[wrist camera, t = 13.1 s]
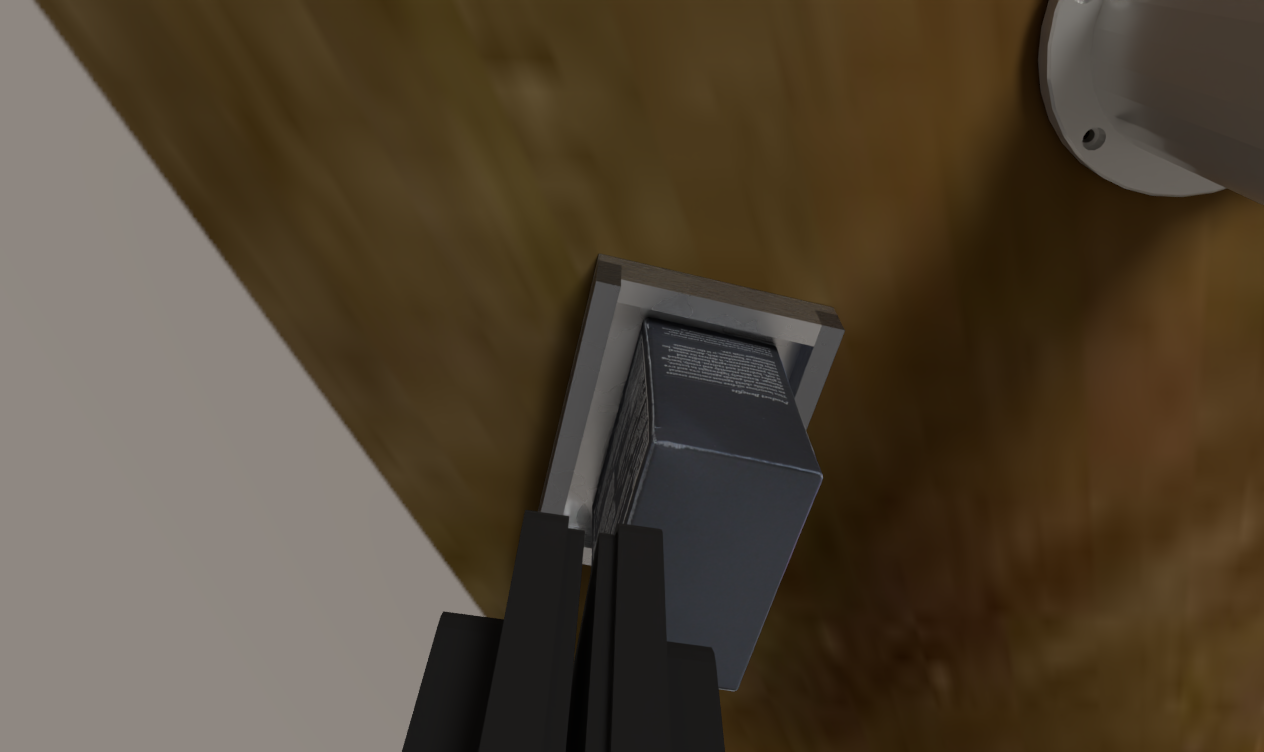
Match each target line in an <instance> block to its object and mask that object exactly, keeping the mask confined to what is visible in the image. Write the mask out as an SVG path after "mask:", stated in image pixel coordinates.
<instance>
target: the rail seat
mask: <svg viewBox="0 0 1264 752" xmlns="http://www.w3.org/2000/svg"><path fill="white" fill-rule="evenodd" d="M647 317H651V318H657V319H661V320H666V321H670V322H675V323H679V324H683V325H688V326H692V327H697V328H701V329H706V330H711V331H715V332H719V333H724V334H728V335H732V336H736V337H741V338H746V339H750V340H754V341H758V342H762V343H766V344H770V345H774V346H776V347H777V350H778V353H779V356H780V359H781V361H782V364H783V367H784V370H785V373H786V375H787V379H788V381H789V384H790V387H791V390H792V393H793V396H794V398H795V401H796V404H797V407H798V410H799V412H800V415H801V418H802V421H803V424H804V426H805V429H806V430H807V427H808V424H809V422H810V419H811V417H812V414H813V411H814V409H815V406H816V404H817V401H818V399H819V396H820V393H821V391H822V388H823V386H824V383H825V380H826V378H827V375H828V373H829V370H830V368H831V365H832V362H833V360H834V357H835V355H836V352H837V349H838V347H839V344H840V342H841V339H842V337H843V334H844V331H845V330H844V328H843V326H842V324H841V322H840V320H839V318H838V316H837V314H836V312H835V310H834V308H833V307H828V306H824V305H820V304H815V303H811V302H807V301H802V300H798V299H794V298H789V297H785V296H781V295H776V294H772V293H768V292H763V291H759V290H755V289H750V288H746V287H742V286H737V285H733V284H729V283H724V282H720V281H716V280H711V279H707V278H703V277H698V276H694V275H690V274H685V273H681V272H677V271H672V270H668V269H664V268H659V267H655V266H651V265H646V264H642V263H638V262H633V261H629V260H625V259H620V258H616V257H612V256H607V255H603V254H599V256H598V260H597V264H596V268H595V272H594V277H593V281H592V285H591V289H590V293H589V298H588V302H587V306H586V310H585V315H584V319H583V323H582V327H581V331H580V336H579V340H578V344H577V348H576V352H575V357H574V361H573V365H572V369H571V373H570V378H569V382H568V386H567V390H566V395H565V399H564V403H563V407H562V411H561V416H560V420H559V424H558V428H557V432H556V437H555V441H554V445H553V449H552V453H551V458H550V462H549V466H548V470H547V474H546V479H545V483H544V487H543V491H542V496H541V500H540V504H539V508H538V512H544V513H551V514H558V515H565V516H569V525H568V528H571V529H578V530H585V540H584V551H583V562H582V564H585V565H591V562H592V561H591V559H592V505H593V502H594V499H595V495H596V491H597V487H598V483H599V479H600V474H601V471H602V467H603V463H604V460H605V456H606V453H607V448H608V445H609V439H610V436H611V434H612V431H613V427H614V423H615V420H616V417H617V413H618V409H619V405H620V402H621V398H622V394H623V390H624V385H625V383H626V380H627V377H628V373H629V369H630V365H631V362H632V358H633V355H634V351H635V347H636V344H637V340H638V337H639V334H640V330H641V326H642V322H643V320H644V319H645V318H647Z"/></svg>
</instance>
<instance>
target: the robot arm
mask: <svg viewBox="0 0 1264 752" xmlns="http://www.w3.org/2000/svg"><path fill="white" fill-rule="evenodd" d="M1038 67H1039V80H1040V91H1041V95H1042V98H1043V102H1044V105H1045V108H1046V112H1047V115H1048V118H1049V121H1050V122H1051V124H1052V126H1053V128H1054V129H1055V131H1056V133H1057V135H1058V137H1059V138H1060V140H1061V142H1062V144H1063V145H1064V146H1065V147H1066V148H1067V149H1068V150H1069V151H1070V152H1071V153H1072V154H1073V155H1074V157H1075V158H1076V159H1077V160H1078V161H1079V162H1080V163H1081V164H1083V165H1084V166H1086V167H1087V168H1089V169H1090V170H1092V171H1093V172H1095V173H1096V174H1098V175H1099V176H1101V177H1102V178H1104V179H1106V180H1108V181H1110V182H1112V183H1114V184H1116V185H1119V186H1121V187H1122V188H1124V189H1128V190H1132V191H1136V192H1140V193H1144V194H1148V195H1151V196H1169V197H1187V196H1194V195H1201V194H1209V193H1214V192H1218V191H1221V190H1224V189H1229V190H1232V191H1234V192H1236V193H1238V194H1240V195H1242V196H1245V197H1247V198H1249V199H1251V200H1253V201H1255V202H1258V203H1260V204H1262V205H1264V0H1049V2H1048V5H1047V9H1046V12H1045V16H1044V19H1043V23H1042V26H1041V36H1040V45H1039V54H1038ZM1088 130H1089V131H1090V132H1089V136H1088V137H1087V138H1086V139H1084V140H1083V136H1084V135H1085V134H1086V132H1087V131H1088ZM568 525H569V516H565V515H558V514H551V513H544V512H537V511H530V510H525V514H524V519H523V524H522V529H521V535H520V540H519V545H518V550H517V555H516V560H515V566H514V571H513V576H512V581H511V586H510V591H509V597H508V602H507V607H506V612H505V617H504V620H503V619H496V618H488V617H481V616H473V615H465V614H458V613H450V612H443V613H442V615H441V618H440V621H439V624H438V627H437V630H436V634H435V637H434V641H433V644H432V648H431V652H430V655H429V658H428V662H427V665H426V669H425V672H424V676H423V679H422V683H421V686H420V690H419V693H418V697H417V700H416V704H415V708H414V711H413V714H412V718H411V721H410V725H409V729H408V732H407V736H406V739H405V743H404V746H403V750H402V752H725V747H724V737H723V727H722V718H721V708H720V698H719V688H718V678H717V668H716V660H715V654H714V651H713V649H712V647H706V646H699V645H691V644H684V643H676V642H669V641H667V635H666V607H665V579H664V551H663V532H662V529H657V528H650V527H643V526H636V525H629V524H622V523H618V524H617V527H616V530H615V535H614V534H607V533H599V534H598V538H597V543H596V548H595V553H594V559H593V564H592V569H591V575H590V580H589V585H588V591H587V596H586V601H585V607H584V612H583V617H582V623H581V628H580V633H579V639H578V644H577V649H576V655H575V660H574V651H575V640H576V629H577V618H578V607H579V595H580V584H581V573H582V562H583V551H584V540H585V530H578V529H571V528H568ZM573 662H574V665H573Z"/></svg>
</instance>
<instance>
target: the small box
mask: <svg viewBox="0 0 1264 752" xmlns="http://www.w3.org/2000/svg"><path fill="white" fill-rule="evenodd" d="M822 479H823V474H822V472H821V470H820V467H819V464H818V462H817V459H816V457H815V454H814V451H813V448H812V445H811V443H810V440H809V437H808V435H807V432H806V429H805V426H804V424H803V421H802V418H801V415H800V412H799V410H798V407H797V404H796V401H795V398H794V396H793V393H792V390H791V387H790V384H789V381H788V379H787V375H786V373H785V370H784V367H783V364H782V361H781V359H780V356H779V353H778V350H777V347H776V346H774V345H770V344H766V343H762V342H758V341H754V340H750V339H746V338H741V337H736V336H732V335H728V334H724V333H719V332H715V331H711V330H706V329H701V328H697V327H692V326H688V325H683V324H679V323H675V322H670V321H666V320H661V319H657V318H651V317H647V318H645V319H644V320H643V322H642V326H641V330H640V334H639V337H638V340H637V344H636V347H635V351H634V355H633V358H632V362H631V365H630V369H629V373H628V377H627V380H626V383H625V385H624V390H623V394H622V398H621V402H620V405H619V409H618V413H617V417H616V420H615V423H614V427H613V431H612V434H611V436H610V439H609V445H608V448H607V453H606V456H605V460H604V463H603V467H602V471H601V474H600V479H599V483H598V487H597V491H596V495H595V499H594V502H593V505H592V559H591V561H592V562H591V569H592V564H593V559H594V553H595V548H596V543H597V538H598V534H599V533H607V534H614V535H615V530H616V527H617V524H618V523H622V524H629V525H636V526H643V527H650V528H657V529H662V532H663V551H664V579H665V607H666V635H667V641H669V642H676V643H684V644H691V645H699V646H706V647H712V649H713V651H714V654H715V660H716V668H717V678H718V688H719V689H722V690H728V691H736V690H737V689H738V688H739V685H740V682H741V680H742V678H743V675H744V673H745V670H746V668H747V665H748V663H749V660H750V658H751V655H752V652H753V650H754V647H755V645H756V642H757V640H758V637H759V635H760V632H761V630H762V627H763V625H764V622H765V620H766V617H767V615H768V612H769V610H770V607H771V605H772V602H773V600H774V597H775V595H776V592H777V589H778V587H779V584H780V582H781V580H782V577H783V575H784V572H785V570H786V567H787V565H788V563H789V560H790V558H791V555H792V553H793V550H794V548H795V545H796V543H797V540H798V538H799V535H800V533H801V531H802V528H803V526H804V523H805V521H806V519H807V516H808V514H809V511H810V509H811V506H812V504H813V501H814V499H815V496H816V494H817V492H818V490H819V487H820V485H821V482H822Z"/></svg>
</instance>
